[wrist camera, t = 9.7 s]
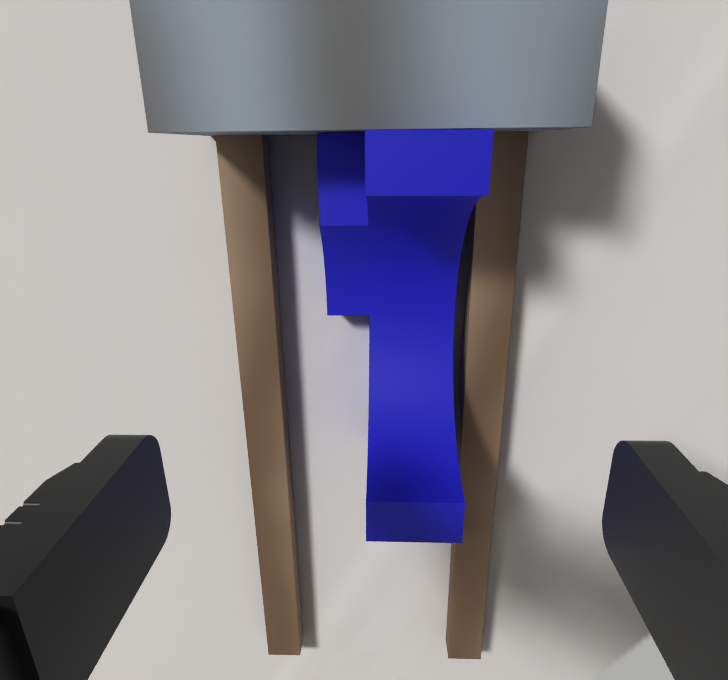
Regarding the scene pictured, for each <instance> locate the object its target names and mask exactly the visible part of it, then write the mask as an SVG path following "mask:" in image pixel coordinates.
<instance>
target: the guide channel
mask: <svg viewBox="0 0 728 680" xmlns="http://www.w3.org/2000/svg"><path fill="white" fill-rule="evenodd" d="M129 1H130V8H131V15H132V22H133V29H134V36H135V43H136V50H137V57H138V64H139V71H140V78H141V85H142V91H143V98H144V105H145V112H146V119H147V126H148V132H149V133H168V134H186V135H204V136H216V145H217V155H218V165H219V174H220V184H221V194H222V204H223V213H224V223H225V233H226V243H227V253H228V262H229V272H230V282H231V292H232V301H233V311H234V321H235V331H236V340H237V350H238V360H239V370H240V379H241V389H242V399H243V409H244V418H245V428H246V438H247V448H248V457H249V467H250V477H251V487H252V497H253V506H254V516H255V526H256V536H257V545H258V555H259V565H260V575H261V584H262V594H263V604H264V614H265V623H266V633H267V643H268V653H269V654H273V655H300V652H301V646H302V640H303V628H302V614H301V600H300V586H299V571H298V557H297V543H296V529H295V514H294V500H293V486H292V471H291V457H290V443H289V429H288V414H287V400H286V386H285V371H284V357H283V343H282V329H281V314H280V300H279V286H278V272H277V257H276V243H275V229H274V214H273V200H272V186H271V172H270V157H269V143H268V135H309V134H317V133H365V130H449V129H494V132H493V145H492V158H491V171H490V184H489V196H482V197H480V198H479V199H478V201H477V202H476V204H475V205H474V208H473V210H472V212H471V217H470V234H469V251H468V269H467V286H466V303H465V320H464V337H463V355H462V372H461V389H460V406H459V424H458V441H457V455H458V463H459V471H460V478H461V484H462V490H463V495H464V500H465V513H464V526H463V540H462V543H452V544H451V561H450V579H449V596H448V613H447V630H446V644H447V652H448V658H456V659H481V648H482V637H483V626H484V615H485V604H486V593H487V582H488V571H489V560H490V549H491V538H492V527H493V516H494V505H495V494H496V483H497V472H498V461H499V450H500V439H501V428H502V417H503V406H504V395H505V384H506V373H507V362H508V351H509V340H510V329H511V318H512V307H513V296H514V285H515V274H516V262H517V251H518V240H519V229H520V218H521V207H522V196H523V185H524V174H525V163H526V152H527V141H528V132H536V131H547V130H559V129H570V128H581V127H592V121H593V113H594V105H595V98H596V90H597V82H598V74H599V67H600V59H601V51H602V43H603V36H604V28H605V20H606V12H607V5H608V0H129Z"/></svg>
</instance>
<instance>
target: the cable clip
mask: <svg viewBox="0 0 728 680" xmlns="http://www.w3.org/2000/svg"><path fill="white" fill-rule="evenodd" d="M493 132H494V129H449V130H365V133H317V164H318V194H319V225H320V231H321V238H322V245H323V254H324V264H325V277H326V293H327V315H364V316H370V343H369V424H368V465H367V493H366V541H386V542H435V543H462V540H463V526H464V513H465V500H464V495H463V490H462V484H461V478H460V471H459V463H458V455H457V445H456V433H455V418H454V395H453V339H454V317H455V302H456V290H457V280H458V272H459V264H460V258H461V252H462V246H463V241H464V236H465V232H466V228H467V224H468V221H469V218H470V215H471V212H472V210H473V208H474V205H475V204H476V202H477V201H478V199H479V198H480V197H482V196H489V184H490V171H491V158H492V145H493Z"/></svg>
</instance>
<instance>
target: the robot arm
mask: <svg viewBox="0 0 728 680" xmlns="http://www.w3.org/2000/svg"><path fill="white" fill-rule="evenodd" d="M170 521H171V507H170V501H169V496H168V490H167V485H166V479H165V474H164V468H163V463H162V457H161V451H160V447H159V443H158V441H157V439H156V438H155V437H154V436H152V435H108V436H106V437H105V438H104V439H103V440H102V441H101V442H100V443H99V444H98V445H97V446H96V447H95V448H94V449H93V450H92V451H91V452H90V453H89V454H88V455H87V456H86V457H85V458H84V459H83V460H82V461H81V462H80V463H74V464H73V465H71V466H69V467H68V468H66V469H64V470H63V471H61V472H59V473H57V474H56V475H54V476H52V477H51V478H49V479H47V480H46V481H45V482H44V483H43V484H42V485H41V486H40V487H39V488H37V489H36V490H35V491H34V492H33V493H32V494H31V495H30V496H29V497H28V498H27V499H26V500H25V501H24V505H23V507H18V508H17V509H16V510H15V511H14V512H13V513H12V514H11V515H10V516H9V517H8V518H7V519H6V520H5V524H4V525H0V680H88V678H89V676H90V675H91V673H92V671H93V669H94V667H95V666H96V664H97V662H98V660H99V659H100V657H101V655H102V653H103V651H104V650H105V648H106V646H107V644H108V643H109V641H110V639H111V637H112V636H113V634H114V632H115V630H116V628H117V627H118V625H119V623H120V621H121V620H122V618H123V616H124V614H125V613H126V611H127V609H128V607H129V605H130V604H131V602H132V600H133V598H134V597H135V595H136V593H137V591H138V590H139V588H140V586H141V584H142V582H143V581H144V579H145V577H146V575H147V574H148V572H149V570H150V568H151V567H152V565H153V563H154V561H155V559H156V558H157V556H158V554H159V552H160V551H161V549H162V547H163V545H164V543H165V541H166V539H167V536H168V532H169V528H170ZM602 529H603V537H604V541H605V545H606V548H607V551H608V554H609V556H610V558H611V560H612V561H613V563H614V565H615V567H616V569H617V571H618V573H619V575H620V577H621V579H622V580H623V582H624V584H625V586H626V588H627V590H628V592H629V594H630V596H631V598H632V599H633V601H634V603H635V605H636V607H637V609H638V611H639V613H640V615H641V617H642V618H643V620H644V622H645V624H646V626H647V628H648V630H649V632H650V634H651V635H652V637H653V639H654V641H655V643H656V645H657V647H658V649H659V650H660V652H661V654H662V656H663V658H664V660H665V662H666V664H667V666H668V668H669V669H670V672H671V673H672V675H673V677H674V679H675V680H728V485H727V484H725V483H724V482H722V481H720V480H719V479H717V478H716V477H714V476H712V475H711V474H709V473H707V472H699V471H698V470H697V469H696V468H695V467H694V466H693V465H692V464H691V463H690V462H689V461H688V459H687V458H686V457H685V456H684V455H683V454H682V453H681V452H680V451H679V450H678V449H677V448H676V447H675V446H674V445H673V444H672V443H670V442H668V441H620V442H618V444H617V445H616V447H615V449H614V453H613V458H612V463H611V469H610V475H609V481H608V487H607V492H606V498H605V504H604V510H603V517H602Z"/></svg>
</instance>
